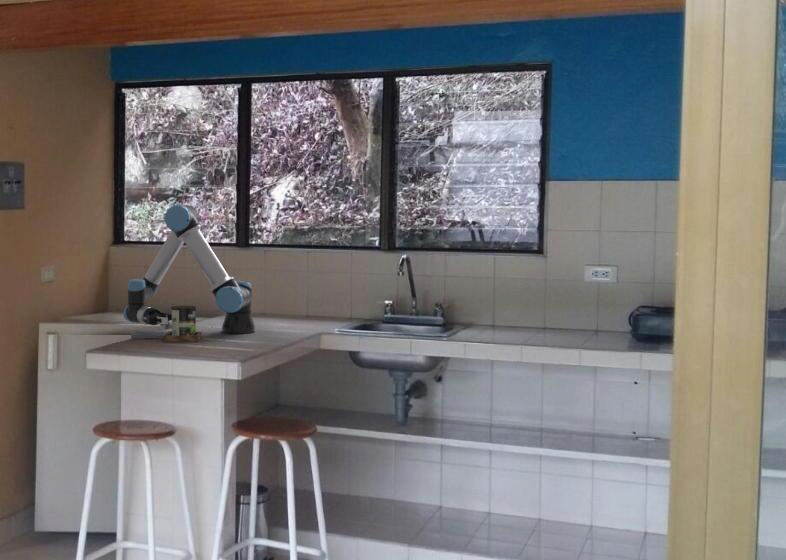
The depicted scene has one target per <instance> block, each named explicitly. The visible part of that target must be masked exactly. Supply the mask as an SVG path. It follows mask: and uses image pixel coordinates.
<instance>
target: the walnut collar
mask: <svg viewBox="0 0 786 560" xmlns="http://www.w3.org/2000/svg"><path fill="white" fill-rule="evenodd" d="M202 336H203V335H202V331H196V336H194V335H172V331H166V334H165V335H164V337H163V342H164V343H165V342H166V343H167V342H169V343H170V342H171V343H172V342H173V343H175V342H176V343H181V342H182V343H186V342H187V343H191V342H192V343H193V342H194V343H195V342H197V343H198V342H200V340H201V339H202Z"/></svg>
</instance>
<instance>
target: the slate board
mask: <svg viewBox="0 0 786 560" xmlns="http://www.w3.org/2000/svg"><path fill="white" fill-rule="evenodd" d="M166 333H167V331H147V330H146V331H145V330H143V331H139V330H138V331H134V332H133V333H132V334H131V335H130V339H133V340H135V339H137V340H141V339H143V340H144V339H145V338H154V340H156V339H155V338H159V340H163V339H164V335H165V334H166Z"/></svg>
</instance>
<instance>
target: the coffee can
mask: <svg viewBox="0 0 786 560" xmlns="http://www.w3.org/2000/svg"><path fill="white" fill-rule="evenodd" d="M170 307H171V314H172V320H171V332H172V335H194V336H196V332H197V328H196V327H197V326H196V325H197V322H196V321H197V320H196V319H197V315H196V314H197V313H196V311H197V310H196V308H197V307H196V306H195V305H174V306H170Z"/></svg>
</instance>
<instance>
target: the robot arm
mask: <svg viewBox="0 0 786 560" xmlns="http://www.w3.org/2000/svg"><path fill="white" fill-rule="evenodd" d="M164 222H165V223H164V224H165V226H166V227H167V228H168V229H169V230H171V231H170V232H169V235H168V236H167V238H166V239H165V241H164V242H163V244H162V246H161V247H160V249H159V251H158V253H157V255H156V256H155V258H154V260H153V261H152V263H151V265H150V267H149V268H148V270H147V271H146V273H145V275H144V276H143V278H142V279H141V278H140V279H139V278H136V279H135V278H133V279H129V280H128V282H127V305H126V306H125V307H124V310H123V312H122V316H123V318H124V319H125V321H128V322H131V323H134V324H135V323H136V324H143V325H144V326H147V325H150V326H157V325H158V324H160V325H161V324H162V325H169V321H172V312H168V313H167V312H161V310H160V309H158V308H156V307H149V306H146V299H150V298H152V297H154V296H155V295H156V294H157V292H158V287H159V285H160V283H161V282H162V280H163V279H164V277H165V275H166V274H167V272H168V270H169V268H170V266H171V265H172V264H173V262H174V260H175V258H176V257H177V256H178V254H179V252H180V251H181V248H182V247H183V245H184V244H185V245H186V247H187V249H188V251H189V252H190V253H191V255H192V257H193V258H194V260H195V261H196V263H197V264H198V267H199V268H200V270H201V271H202V273H203V274H204V276H205V277H206V279H207V280H208V282H209V284H210V285H211V291H210V292H211V293H212V295H213V296H214V299H215V304H216V306H217V307H218V309H219V310H221V311H222V312H225V316H224V319H223V323H222V326H221V332H222V333H227V334H251V333H255V332H256V326H255V323H254V320H253V316H252V292H253V291H252V290H253V288H252V283H250V282H247V281H237V280H236V279H235V278H234V277H235V276H234V277H233V276H230V275H229V274H228V273H227V271H226V270H225V268H224V266H223V265H222V263H221V261H220V260H219V259H218V256H217V255H216V253H215V252H214V251H213V249H212V247H211V246H210V244H209V242H208V241H207V240H206V238H205V237H204V234H203V232H202V231H201V230H202V229H201V228H202V225H201V223H200V214H199V212H198V210H197V209H196V208H195V207H194V206H192V205H189V204H181V203H179V204H178V203H177V204H175V205H171V206H170V207H169V208H168V209H167V210H166V212H165V214H164Z"/></svg>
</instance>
